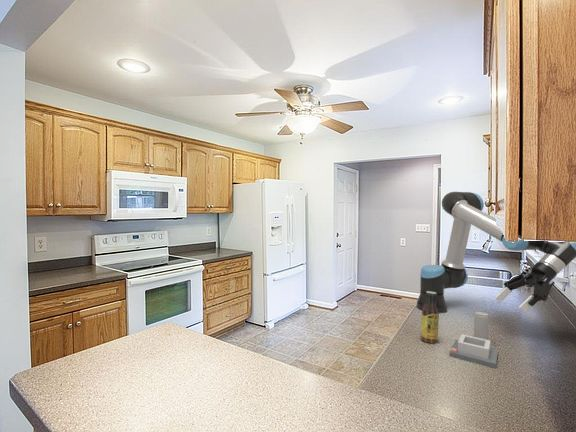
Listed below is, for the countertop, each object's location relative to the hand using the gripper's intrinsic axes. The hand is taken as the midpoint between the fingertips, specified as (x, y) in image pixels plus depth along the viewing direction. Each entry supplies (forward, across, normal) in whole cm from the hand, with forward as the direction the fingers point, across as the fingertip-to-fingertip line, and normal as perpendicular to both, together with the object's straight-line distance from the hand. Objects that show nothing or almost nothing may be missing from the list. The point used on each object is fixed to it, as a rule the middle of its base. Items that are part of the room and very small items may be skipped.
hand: (508, 304), depth 124 cm
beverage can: (+19, 0, -4) cm, 19 cm away
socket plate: (+25, -10, +3) cm, 27 cm away
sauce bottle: (+33, +1, +11) cm, 35 cm away
